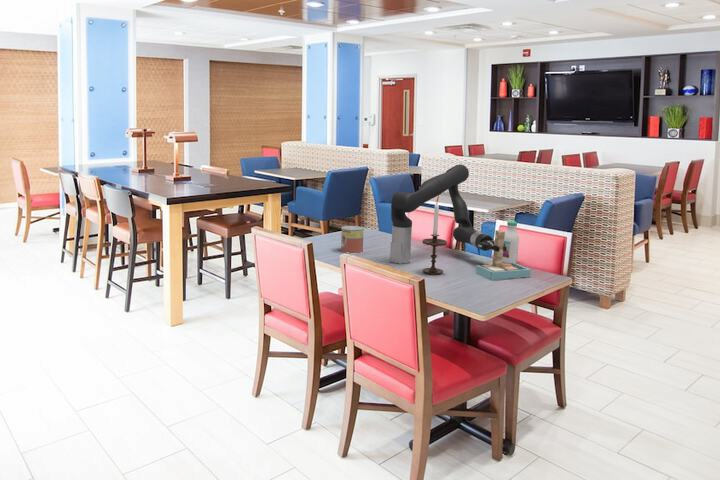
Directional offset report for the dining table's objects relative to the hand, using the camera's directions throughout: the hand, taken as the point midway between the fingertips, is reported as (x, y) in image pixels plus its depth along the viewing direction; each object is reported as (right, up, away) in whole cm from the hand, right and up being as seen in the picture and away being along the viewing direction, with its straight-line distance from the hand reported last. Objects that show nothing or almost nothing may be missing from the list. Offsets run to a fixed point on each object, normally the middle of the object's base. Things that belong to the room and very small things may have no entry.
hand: (502, 249), depth 287 cm
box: (0, -11, 0) cm, 12 cm away
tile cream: (-3, -12, 0) cm, 12 cm away
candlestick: (-31, -10, +1) cm, 33 cm away
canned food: (-68, -2, +37) cm, 77 cm away
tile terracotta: (+4, -11, +3) cm, 12 cm away
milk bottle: (+9, -7, +25) cm, 27 cm away
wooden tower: (-2, -10, +5) cm, 11 cm away
